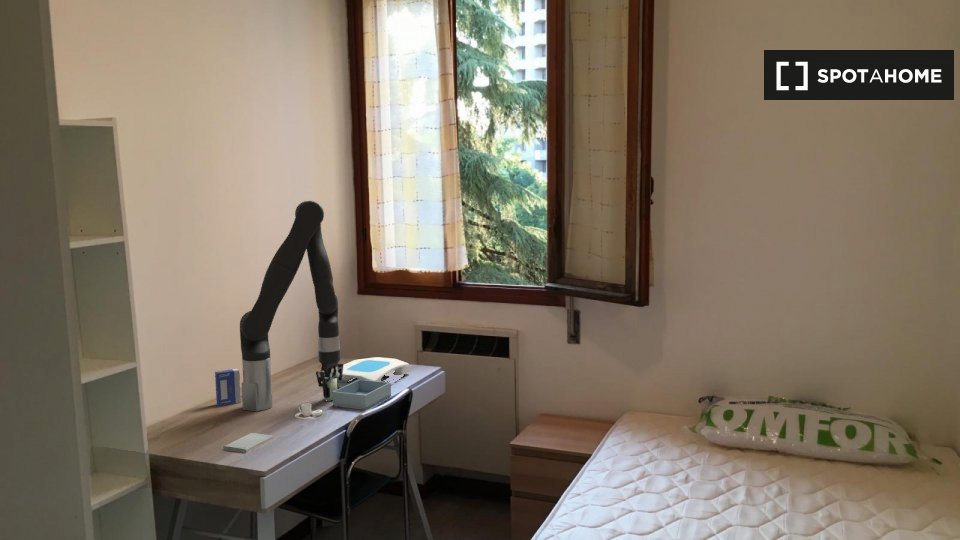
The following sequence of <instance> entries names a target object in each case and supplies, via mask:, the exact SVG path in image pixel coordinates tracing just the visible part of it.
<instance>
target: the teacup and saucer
mask: <svg viewBox="0 0 960 540" xmlns="http://www.w3.org/2000/svg"><path fill="white" fill-rule="evenodd" d="M300 407H301V409H300ZM298 410H299V412H297V413H296V414H294V417H295V419H298V420H299V419H300V420H304V419H305V420H307V419H314V418H316V417H318V416H321V415H323V410H322V409H316V410H312V403H310V402H305V403H302V404H299V406H298ZM301 414H302V416H304V417H300V415H301ZM309 416H310V417H309Z"/></svg>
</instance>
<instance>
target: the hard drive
mask: <svg viewBox="0 0 960 540" xmlns="http://www.w3.org/2000/svg"><path fill="white" fill-rule="evenodd" d="M273 439H274V436H273V435H271V434H263V433H256V432H250V433H248V434H246V435H244V436H242V437H239V438H238V439H236V440H234V441H232V442H230V443H228V444H225V445H223V449H222V450H225V451H232V452H237V453H238V452H239V453H244V454H247V453H249V452H250V451H253V450H255V449H257V448H259V447H260V446H262V445H264V444H266V443H268V442H270V441H272V440H273Z"/></svg>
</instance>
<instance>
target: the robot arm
mask: <svg viewBox="0 0 960 540" xmlns="http://www.w3.org/2000/svg"><path fill="white" fill-rule="evenodd" d="M294 217H295V218H294V221H293V223H292V225H291V228H290V230H289V233H288V234H287V236H286V238H285V239H284V241H283V242H282V243H281V244H280V246H279V247H278V249H277V250H276V252H275V253H274V256H273V257H272V258H271V259H272V260H271V261H270V263H269V264H268V267H267V269H266V271H265V274H264V277H263V281H262V283H261V288H260V290H259V295H258V298H257V299H256V302H255V303H254V305H253V307H252V308H251V310H250V311H246V312H245V313H244V314H243V315H242V317H241V318H240V322H239V336H240V337H239V338H240V351H241V359H242V360H241V361H242V362H241V364H242V378H243V379H242V382H241V400H242V401H241V402H242V410H244V411H249V412H259V411H264V410H269V409H270V408H272V407H273V406H274V405H273V388H272V386H273V385H272V365H271V364H272V363H271V349H270V341H269V332H270V330H271V326H272V324H273V321H274V320H275V319H274V318H275V315H276V313H277V311H278V308H279V305H280V304H281V302H282V301H283V299H284V298H285V295H286V293H287V292H288V290H289V288H290V287H291V284H292V283H293V281H294V279H295V276H296V275H297V273H298V271H299V267H300V266H301V263H302V262H303V258H304V256H305V254H307V259H308V266H309V271H310V275H311V280H312V285H313V287H314V295H315V297H314V298H315V303H316V306H317V309H318V326H317V328H318V330H317V331H318V333H317V334H318V342H317V345H318V350H317V351H318V362H319V363H320V364H321V368H320V370H317V371H316V372H315V374H316V375H315V376H316V380H317V384H318V387H319V388H322V395H323V398H329V397H330V387H329V386H330V381H331V380H332V377H335V378H337V389H338V383H339V381H340V380H342V378H343V377H342V373H343V365H344V364H343V363H340V362H341V341H340V336H339V335H340V331H339V330H340V329H339V321H338V320H339V319H338V317H339V300H338V296H337V295H336V293H335V291H336V290H335V287H334V284H333V283H334V278H333V272H332V268H331V267H332V266H331V263H330V259H329V256H328V253H327V249H326V247H325V244H324V239H323V234H322V222H323V221H324V218H325V211H324V208H323V207H322V205H321V204H320V203H319V202H318V201H315V200H304V201H302V202H300V203H299V204H298V205H297V206H296V208H295V212H294ZM338 373H339V374H338ZM326 377H327V378H328V379H326ZM326 381H327V384H326Z"/></svg>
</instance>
